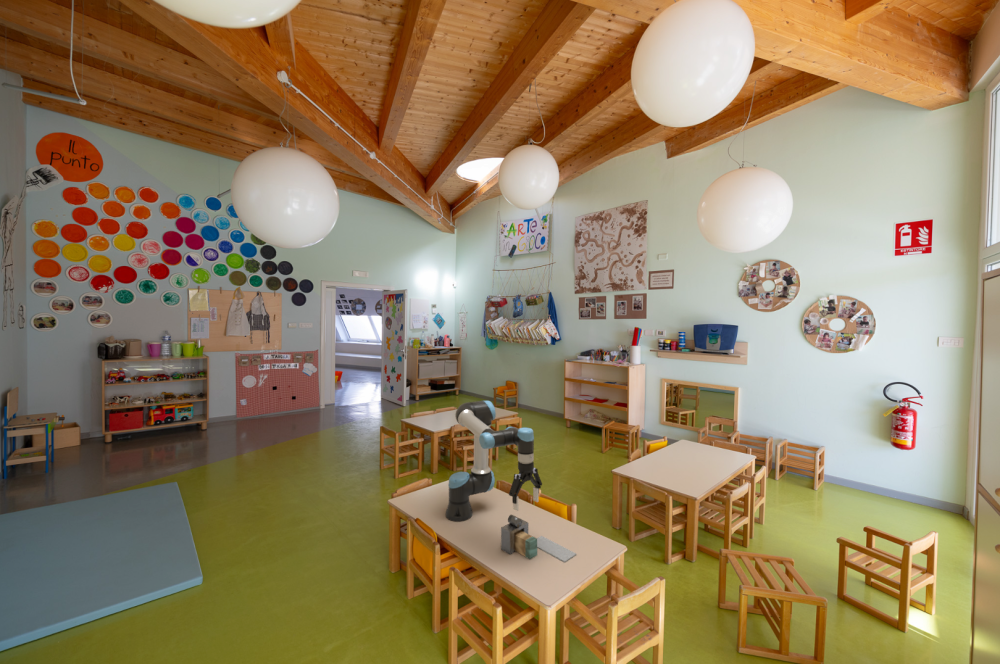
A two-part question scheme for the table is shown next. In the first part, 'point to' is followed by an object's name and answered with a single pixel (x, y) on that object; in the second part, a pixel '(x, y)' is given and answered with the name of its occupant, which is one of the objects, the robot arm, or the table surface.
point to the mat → (554, 549)
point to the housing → (511, 533)
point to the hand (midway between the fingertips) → (526, 505)
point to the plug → (525, 544)
